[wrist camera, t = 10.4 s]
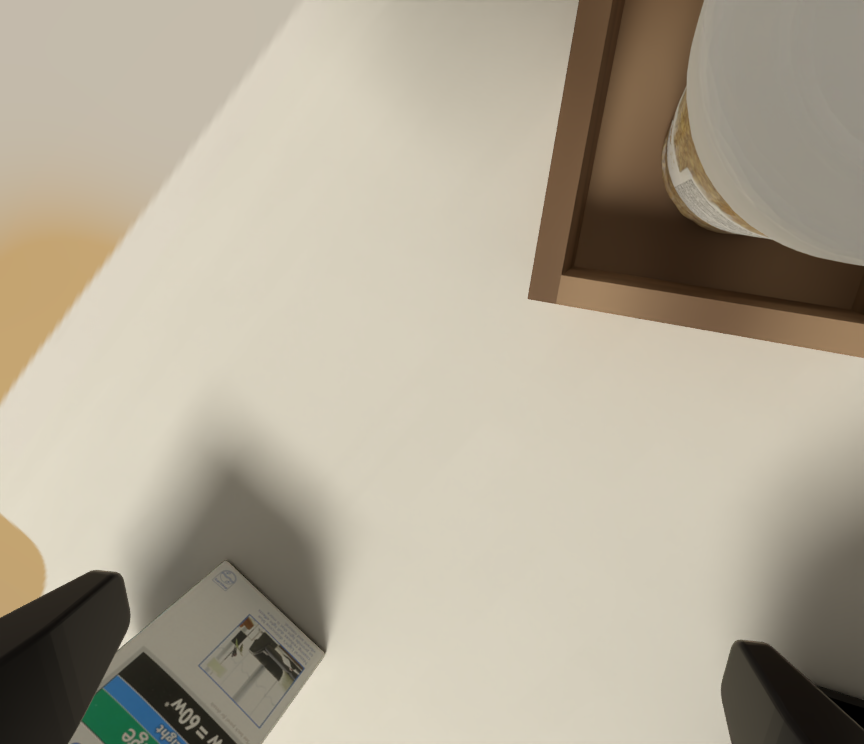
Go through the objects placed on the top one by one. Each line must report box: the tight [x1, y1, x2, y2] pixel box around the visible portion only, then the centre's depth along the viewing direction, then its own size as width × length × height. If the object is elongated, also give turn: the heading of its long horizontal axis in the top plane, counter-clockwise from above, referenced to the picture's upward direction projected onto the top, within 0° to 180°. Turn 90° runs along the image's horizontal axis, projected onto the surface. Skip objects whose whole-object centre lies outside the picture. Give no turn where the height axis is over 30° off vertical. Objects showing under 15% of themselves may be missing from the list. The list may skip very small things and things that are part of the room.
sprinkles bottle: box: [661, 0, 864, 266], centre depth 11 cm, size 5×5×14 cm
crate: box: [528, 0, 864, 358], centre depth 16 cm, size 10×10×4 cm
